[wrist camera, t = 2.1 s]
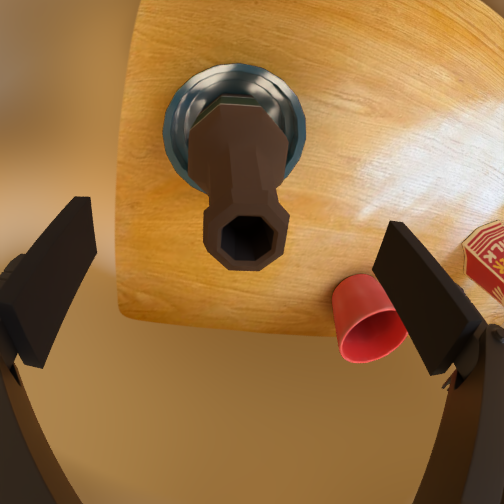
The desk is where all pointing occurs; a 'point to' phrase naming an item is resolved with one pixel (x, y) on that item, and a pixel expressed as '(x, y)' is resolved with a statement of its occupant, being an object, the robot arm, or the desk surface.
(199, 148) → the beer bottle
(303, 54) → the desk surface
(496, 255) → the milk carton
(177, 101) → the bowl
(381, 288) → the flower pot
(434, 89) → the desk surface
